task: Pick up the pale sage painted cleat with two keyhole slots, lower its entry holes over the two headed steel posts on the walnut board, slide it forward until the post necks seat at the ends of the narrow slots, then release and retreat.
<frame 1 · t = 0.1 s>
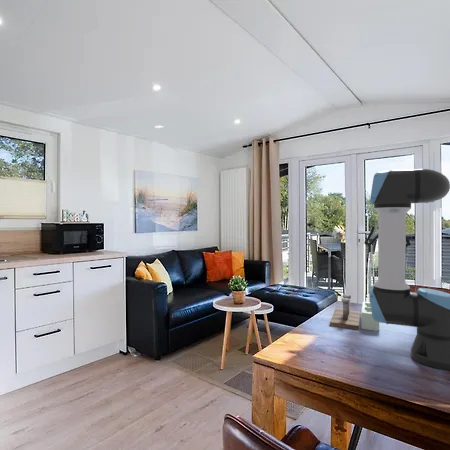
hand: (386, 259, 158), 28 cm above the table, fingers open, 13 cm apart
board: (346, 319, 153), on the table
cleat: (370, 322, 148), on the table
radio: (384, 311, 167), on the table
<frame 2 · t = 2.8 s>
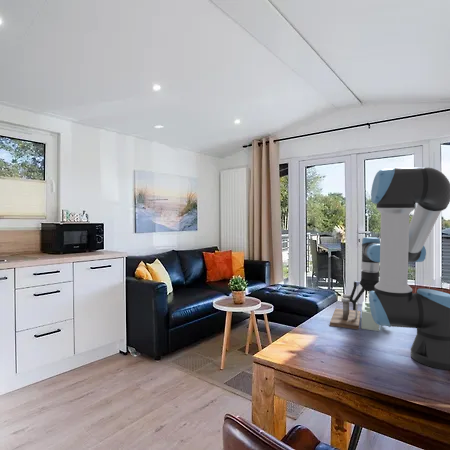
hand: (368, 319, 148), 2 cm above the table, fingers open, 10 cm apart
nothing on the table moved.
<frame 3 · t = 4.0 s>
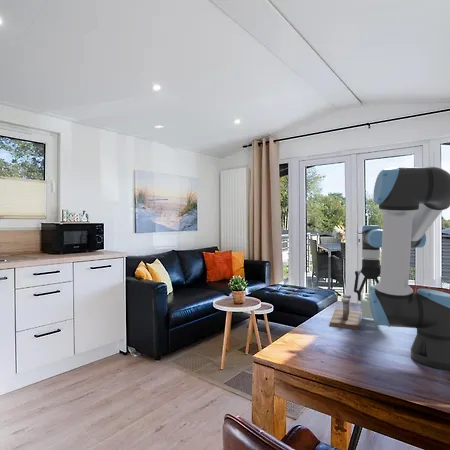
hand: (370, 308, 147), 7 cm above the table, fingers closed on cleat, 7 cm apart
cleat: (370, 312, 147), point 5 cm above the table, touching gripper
everything else where it was.
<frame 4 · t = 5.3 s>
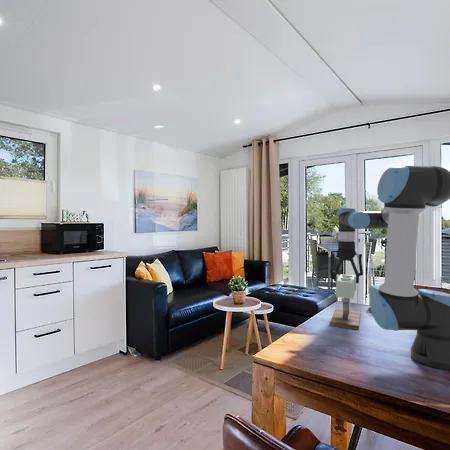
hand: (346, 289, 151), 15 cm above the table, fingers closed on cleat, 7 cm apart
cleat: (346, 292, 151), point 13 cm above the table, touching gripper
everything else where it was.
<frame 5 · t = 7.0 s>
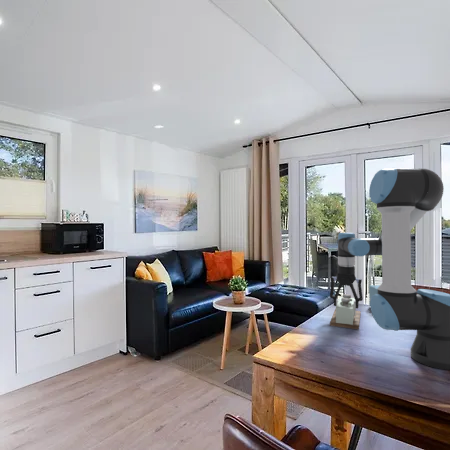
hand: (345, 313, 152), 3 cm above the table, fingers closed on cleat, 7 cm apart
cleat: (345, 317, 152), point 1 cm above the table, touching board, gripper
everything else where it was.
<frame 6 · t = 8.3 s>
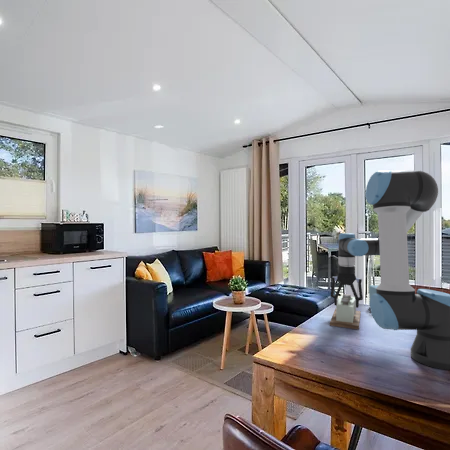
hand: (346, 313, 154), 3 cm above the table, fingers closed on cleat, 7 cm apart
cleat: (346, 315, 154), point 1 cm above the table, touching board, gripper
everything else where it was.
when the fingers open (3 cm above the table, at t = 9.2 s): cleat stays where it is, resting on board.
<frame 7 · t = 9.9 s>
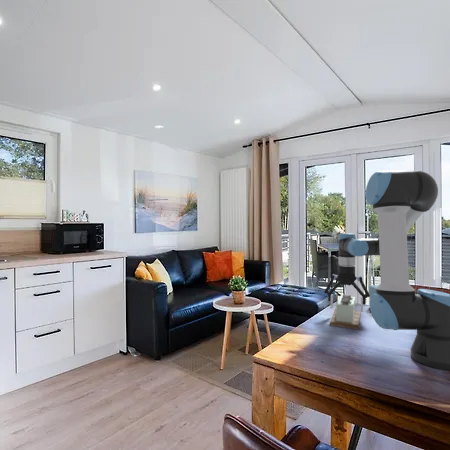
hand: (346, 309, 155), 4 cm above the table, fingers open, 13 cm apart
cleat: (346, 315, 154), point 1 cm above the table, touching board
everything else where it was.
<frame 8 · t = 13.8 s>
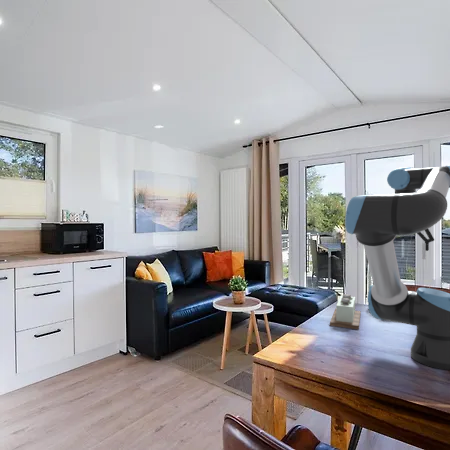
hand: (404, 258, 132), 32 cm above the table, fingers open, 13 cm apart
nothing on the table moved.
at the end: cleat 0.8 cm from the target spot on the board, point 1.5 cm above the board's base; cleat tilted 0°; the gripper is holding nothing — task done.
